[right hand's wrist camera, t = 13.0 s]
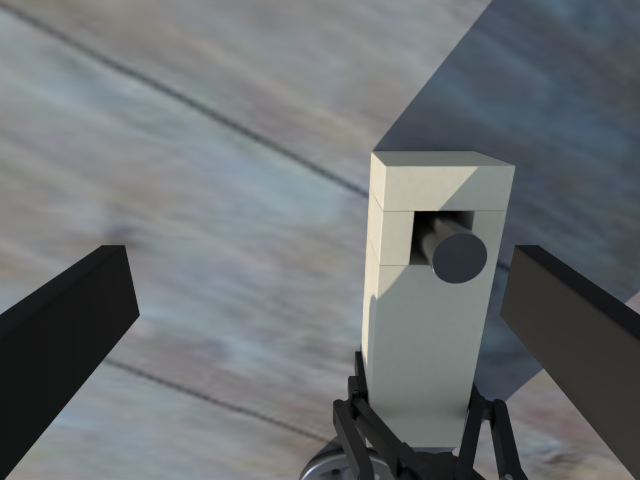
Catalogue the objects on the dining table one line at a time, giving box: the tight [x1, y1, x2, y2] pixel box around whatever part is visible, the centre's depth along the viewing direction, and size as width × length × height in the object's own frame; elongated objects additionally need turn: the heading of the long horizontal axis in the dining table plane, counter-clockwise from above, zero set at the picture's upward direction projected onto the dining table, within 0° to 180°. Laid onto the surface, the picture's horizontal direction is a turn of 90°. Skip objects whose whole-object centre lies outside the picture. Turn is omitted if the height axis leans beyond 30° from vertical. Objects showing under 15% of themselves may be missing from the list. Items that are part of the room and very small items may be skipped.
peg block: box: [361, 151, 516, 447], centre depth 37 cm, size 30×10×8 cm, turn 0°
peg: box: [412, 211, 487, 284], centre depth 32 cm, size 4×4×12 cm
